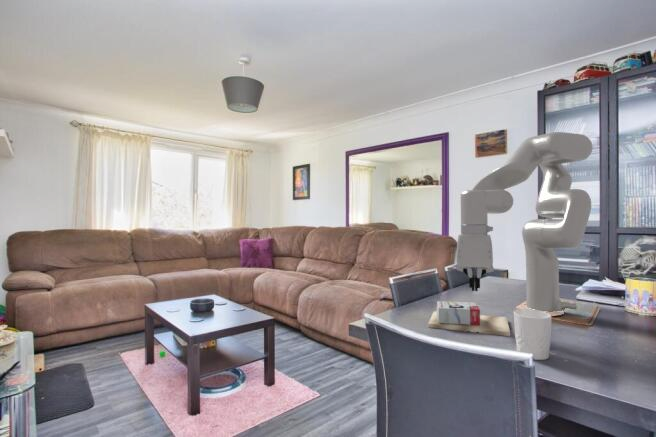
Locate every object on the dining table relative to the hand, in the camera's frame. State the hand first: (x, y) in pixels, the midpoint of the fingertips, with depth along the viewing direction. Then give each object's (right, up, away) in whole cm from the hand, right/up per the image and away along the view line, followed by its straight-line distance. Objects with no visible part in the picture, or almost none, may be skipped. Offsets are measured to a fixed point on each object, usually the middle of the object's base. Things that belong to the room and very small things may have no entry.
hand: (474, 290), depth 105 cm
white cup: (+5, -11, -22) cm, 25 cm away
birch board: (-2, -11, +1) cm, 11 cm away
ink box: (+1, -7, 0) cm, 7 cm away
